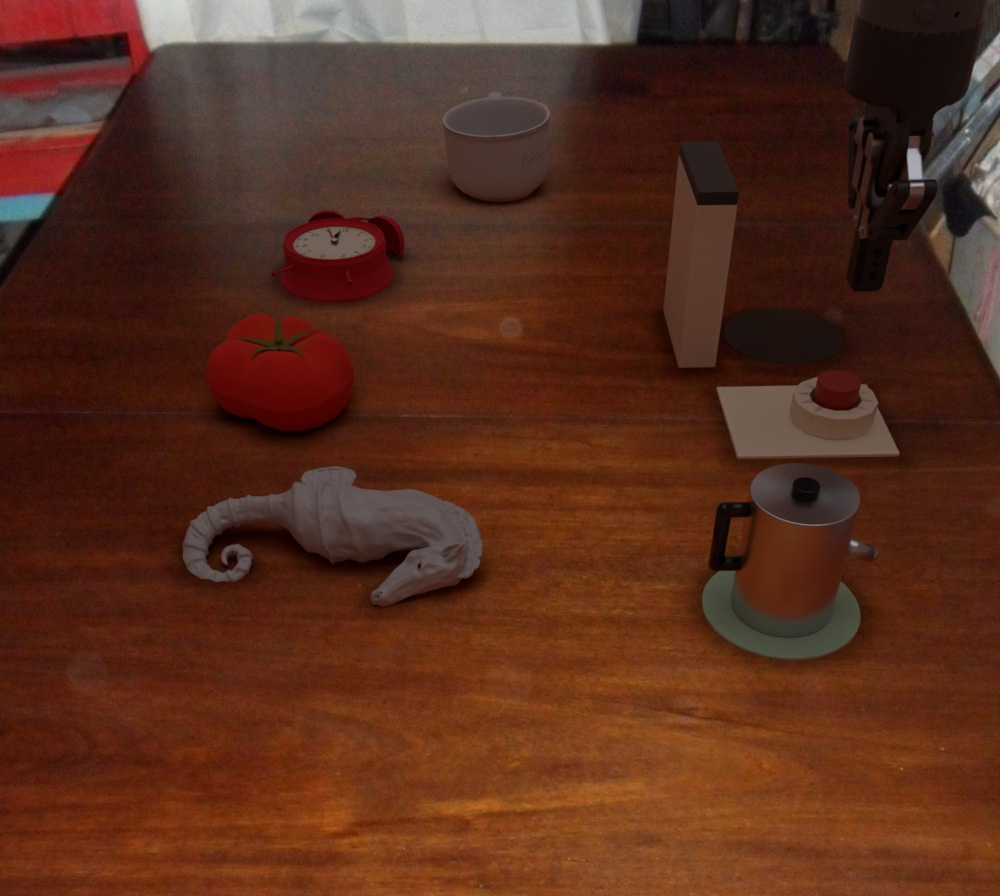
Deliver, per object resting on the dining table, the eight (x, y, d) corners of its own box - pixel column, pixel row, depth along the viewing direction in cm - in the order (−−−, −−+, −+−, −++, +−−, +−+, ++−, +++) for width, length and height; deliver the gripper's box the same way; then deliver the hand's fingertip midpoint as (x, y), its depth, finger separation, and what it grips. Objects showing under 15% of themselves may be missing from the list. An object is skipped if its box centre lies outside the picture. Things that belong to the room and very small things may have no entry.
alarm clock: (253, 267, 104) (308, 165, 111) (269, 325, 109) (320, 224, 117) (366, 280, 102) (414, 175, 109) (376, 338, 107) (422, 235, 115)
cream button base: (863, 397, 95) (871, 363, 93) (896, 467, 88) (906, 432, 86) (714, 400, 95) (719, 365, 93) (735, 470, 88) (741, 435, 86)
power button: (850, 390, 91) (855, 369, 90) (860, 412, 89) (865, 391, 87) (809, 391, 91) (813, 370, 89) (818, 413, 88) (822, 391, 87)
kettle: (853, 571, 78) (884, 452, 72) (877, 636, 74) (913, 515, 67) (694, 575, 78) (712, 455, 71) (709, 639, 73) (729, 518, 67)
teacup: (541, 217, 120) (543, 134, 114) (435, 211, 121) (432, 128, 115) (558, 166, 129) (560, 86, 124) (460, 160, 131) (458, 81, 125)
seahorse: (168, 619, 74) (483, 567, 73) (168, 469, 79) (463, 419, 78) (197, 656, 79) (493, 608, 78) (195, 513, 84) (474, 465, 83)
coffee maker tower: (696, 319, 104) (717, 141, 94) (713, 377, 97) (739, 191, 87) (662, 320, 104) (680, 141, 94) (677, 378, 97) (698, 191, 87)
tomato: (304, 459, 89) (293, 380, 84) (193, 419, 93) (176, 341, 88) (379, 401, 95) (373, 324, 90) (272, 366, 99) (260, 290, 94)
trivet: (838, 565, 80) (840, 555, 79) (875, 666, 73) (878, 656, 72) (690, 568, 80) (691, 558, 79) (713, 669, 73) (714, 659, 72)
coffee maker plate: (826, 317, 105) (828, 307, 104) (853, 375, 98) (855, 364, 97) (713, 319, 104) (714, 308, 104) (732, 377, 97) (733, 366, 97)
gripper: (1021, 40, 66) (944, 330, 79) (950, -25, 76) (891, 244, 88) (887, 44, 66) (831, 334, 78) (833, -21, 75) (790, 247, 88)
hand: (863, 286), depth 83 cm, fingers closed
